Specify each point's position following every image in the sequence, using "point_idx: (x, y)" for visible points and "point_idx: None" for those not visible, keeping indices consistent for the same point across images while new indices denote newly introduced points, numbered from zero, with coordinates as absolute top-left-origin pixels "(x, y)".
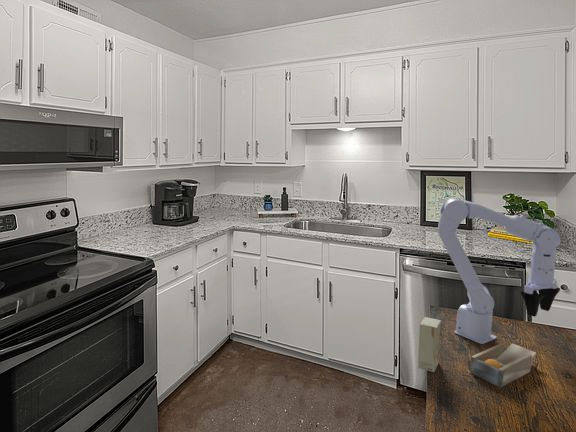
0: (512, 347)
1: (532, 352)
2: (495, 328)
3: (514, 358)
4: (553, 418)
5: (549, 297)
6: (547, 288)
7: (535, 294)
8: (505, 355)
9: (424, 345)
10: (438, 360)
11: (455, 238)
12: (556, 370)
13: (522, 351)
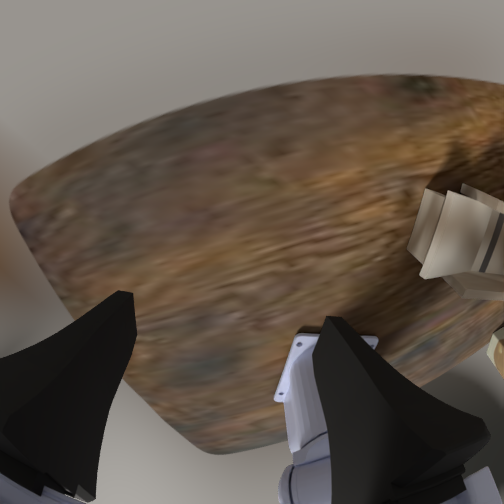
0: (440, 267)
1: (454, 204)
2: (210, 359)
3: (469, 237)
4: None
5: (81, 380)
6: (59, 472)
7: (441, 473)
8: (461, 262)
9: None
10: (498, 335)
11: None
12: (412, 117)
13: (452, 233)
